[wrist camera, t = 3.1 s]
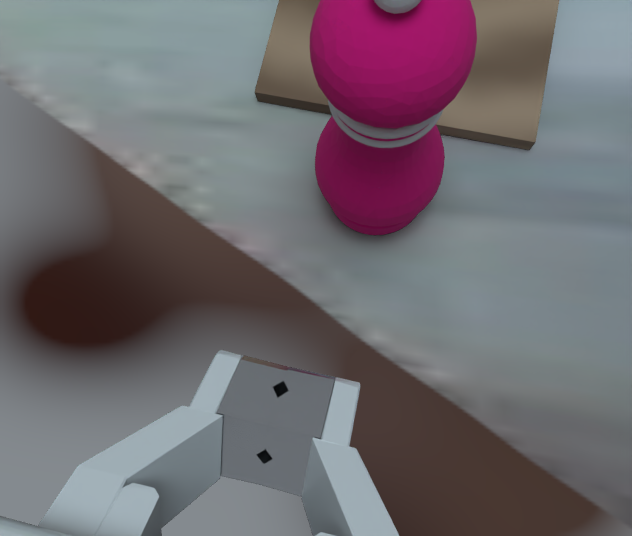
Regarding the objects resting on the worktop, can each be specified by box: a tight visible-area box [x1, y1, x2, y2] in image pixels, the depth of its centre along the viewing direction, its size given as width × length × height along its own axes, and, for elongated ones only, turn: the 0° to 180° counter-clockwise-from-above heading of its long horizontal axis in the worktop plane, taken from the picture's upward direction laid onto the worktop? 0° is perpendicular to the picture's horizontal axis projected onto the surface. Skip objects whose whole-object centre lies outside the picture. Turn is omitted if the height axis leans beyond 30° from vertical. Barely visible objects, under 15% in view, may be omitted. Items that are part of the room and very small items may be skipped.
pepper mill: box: [310, 0, 477, 235], centre depth 26 cm, size 7×7×20 cm
